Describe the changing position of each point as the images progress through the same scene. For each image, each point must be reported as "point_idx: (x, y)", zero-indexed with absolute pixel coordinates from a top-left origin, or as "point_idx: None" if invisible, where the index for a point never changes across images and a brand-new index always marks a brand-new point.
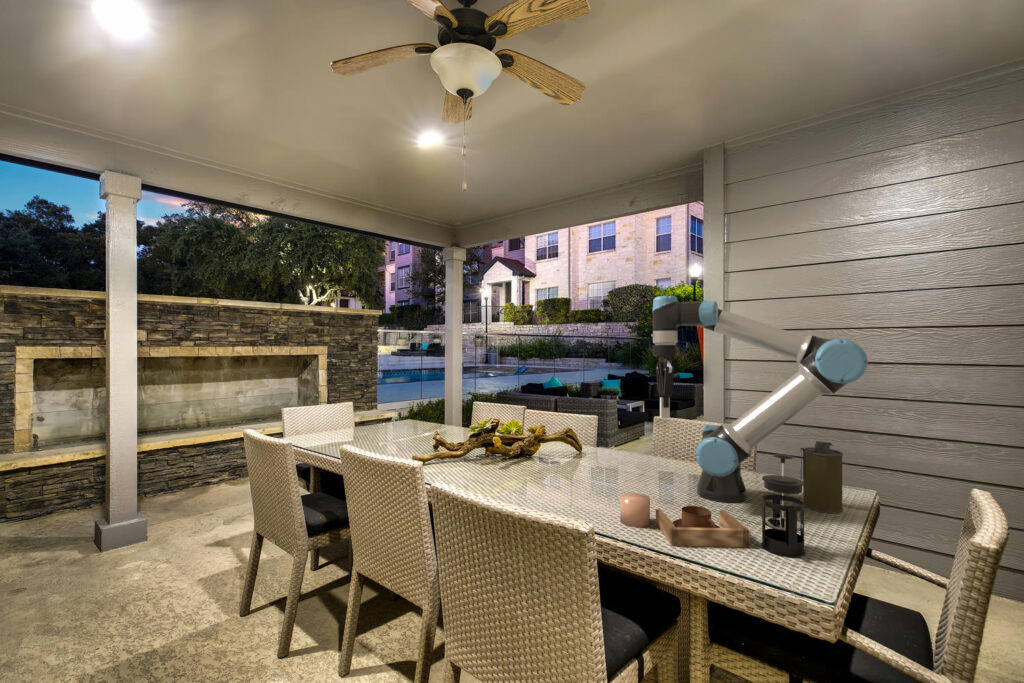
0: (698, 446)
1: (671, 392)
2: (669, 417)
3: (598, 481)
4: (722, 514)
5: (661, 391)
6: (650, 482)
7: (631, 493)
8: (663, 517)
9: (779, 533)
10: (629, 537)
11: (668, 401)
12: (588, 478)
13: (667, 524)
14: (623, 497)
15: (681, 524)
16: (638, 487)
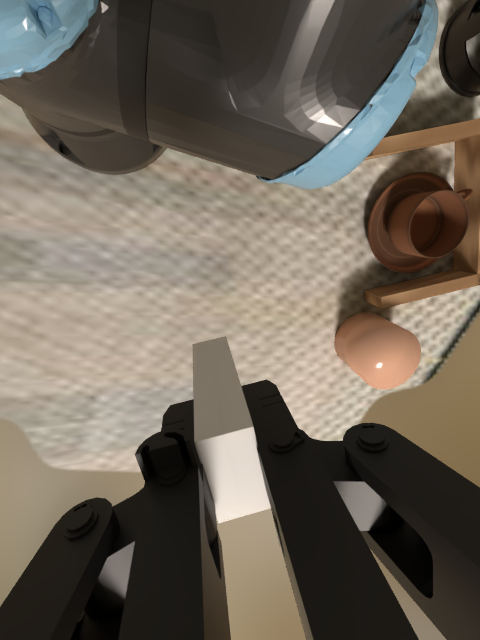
0: (342, 174)
1: (427, 460)
2: (226, 338)
3: (91, 436)
4: (388, 152)
5: (220, 581)
6: (41, 307)
7: (364, 368)
8: (428, 294)
9: (459, 29)
10: (431, 345)
11: (289, 413)
12: (72, 462)
13: (462, 288)
14: (394, 382)
15: (379, 251)
16: (110, 338)
